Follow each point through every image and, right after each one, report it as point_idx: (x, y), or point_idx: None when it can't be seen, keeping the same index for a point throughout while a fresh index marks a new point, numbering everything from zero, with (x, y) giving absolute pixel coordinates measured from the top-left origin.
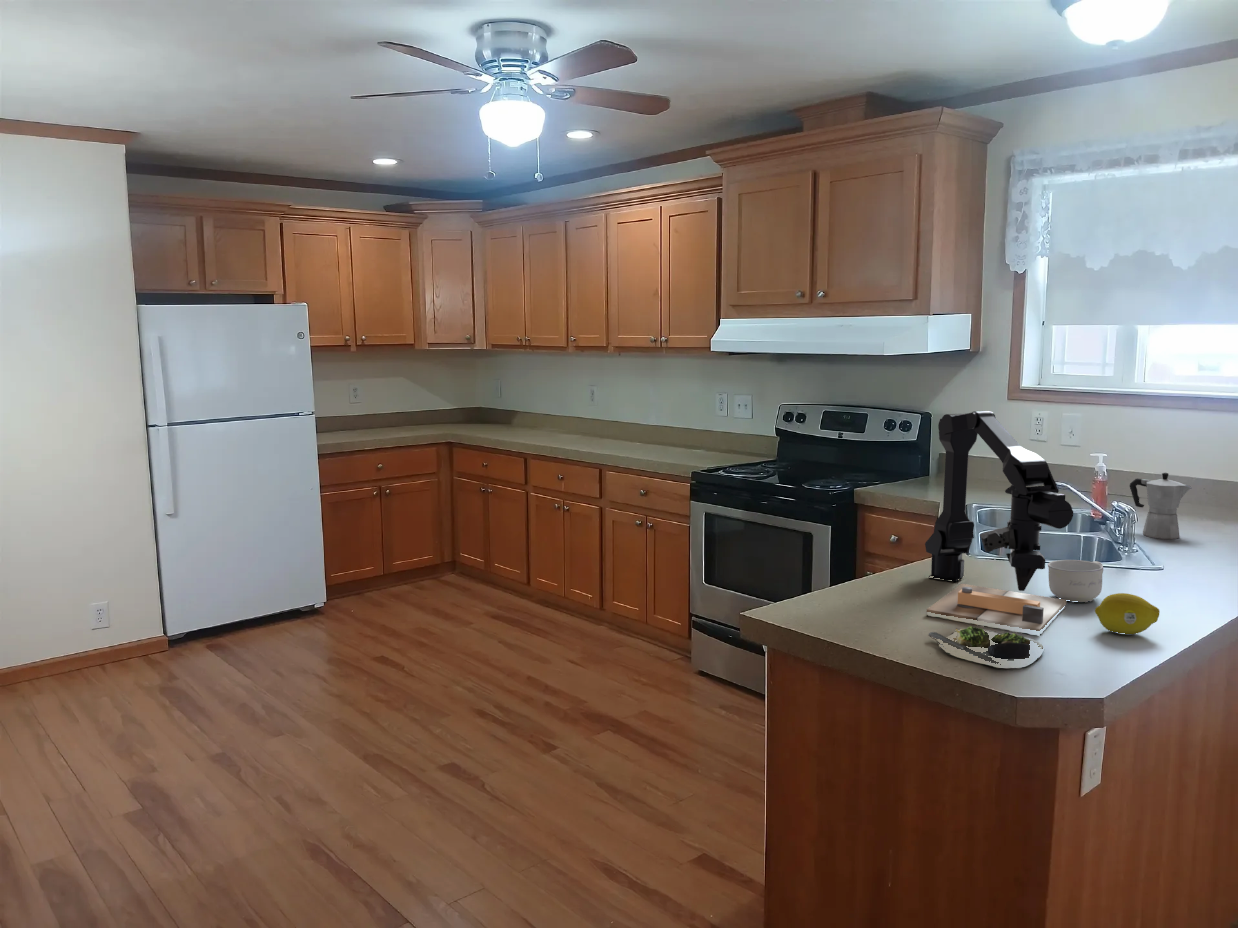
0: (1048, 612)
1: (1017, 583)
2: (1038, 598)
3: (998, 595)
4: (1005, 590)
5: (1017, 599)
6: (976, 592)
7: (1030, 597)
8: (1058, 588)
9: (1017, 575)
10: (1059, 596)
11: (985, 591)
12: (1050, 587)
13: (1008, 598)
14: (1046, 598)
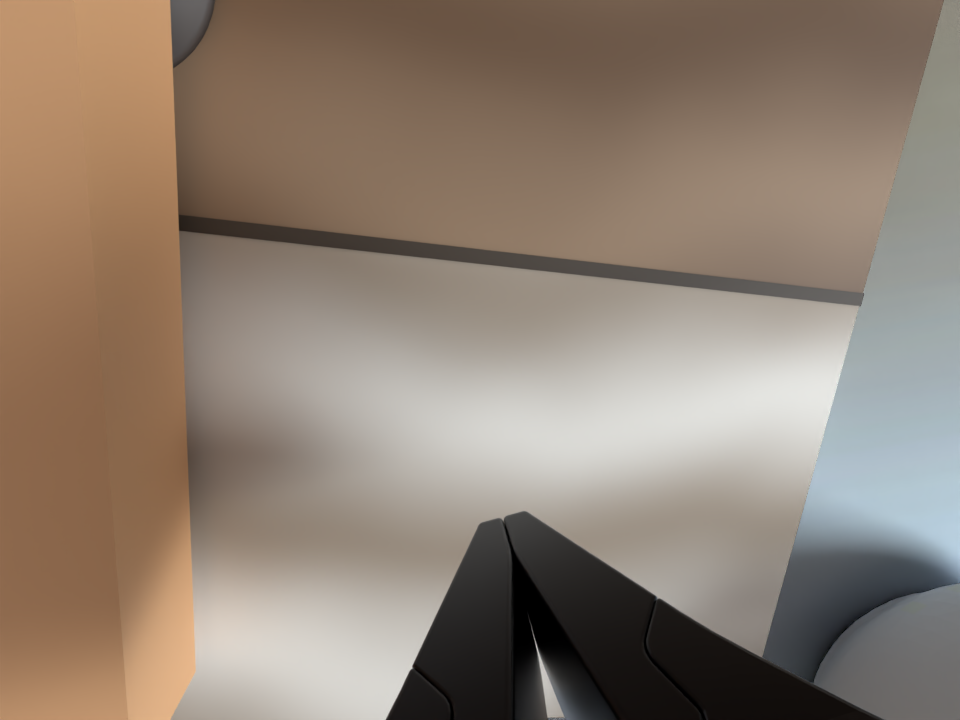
0: (344, 686)
1: (494, 557)
2: (709, 555)
3: (77, 350)
4: (864, 276)
5: (45, 588)
6: (29, 3)
7: (715, 499)
8: (884, 704)
9: (396, 705)
10: (845, 647)
11: (774, 96)
12: (951, 619)
13: (16, 489)
14: (731, 602)
